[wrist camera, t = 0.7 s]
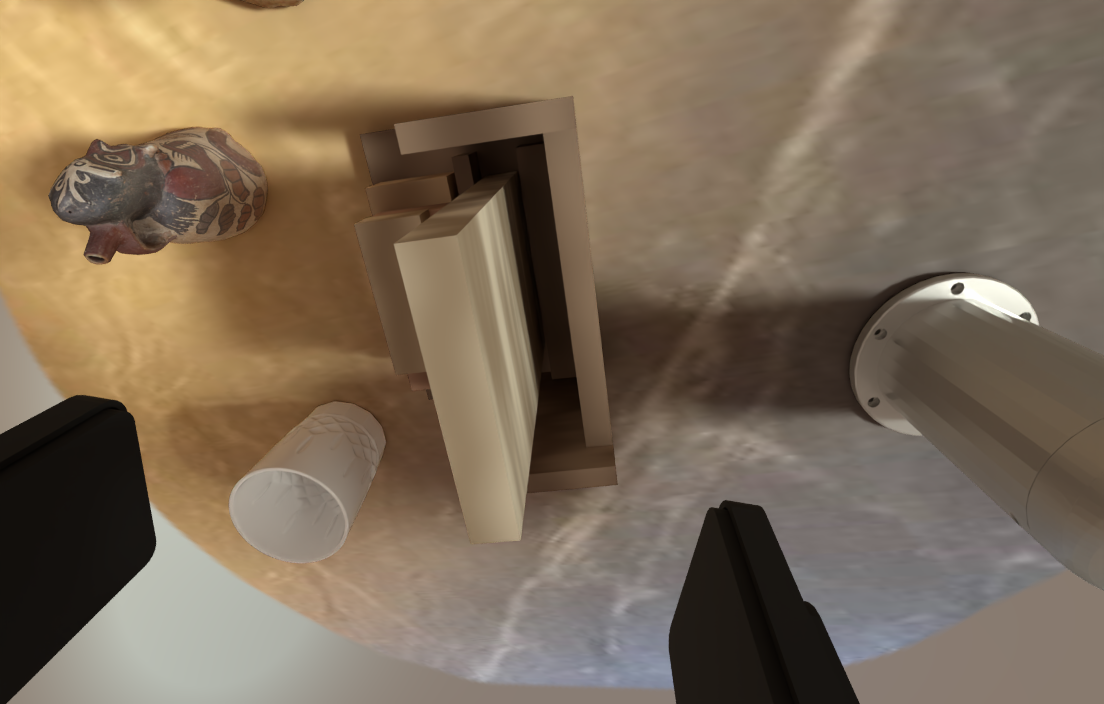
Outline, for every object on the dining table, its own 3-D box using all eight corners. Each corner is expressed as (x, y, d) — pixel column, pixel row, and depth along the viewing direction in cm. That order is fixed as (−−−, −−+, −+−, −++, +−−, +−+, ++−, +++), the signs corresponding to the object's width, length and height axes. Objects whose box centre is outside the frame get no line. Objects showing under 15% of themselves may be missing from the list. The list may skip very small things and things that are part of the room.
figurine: (258, 128, 36) (121, 135, 25) (278, 236, 39) (162, 285, 28) (152, 125, 36) (-31, 131, 25) (178, 233, 39) (25, 281, 28)
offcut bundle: (456, 171, 35) (427, 185, 28) (493, 355, 40) (476, 405, 34) (381, 182, 36) (335, 199, 29) (426, 363, 41) (397, 414, 34)
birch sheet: (517, 170, 35) (456, 235, 17) (545, 343, 40) (520, 540, 22) (487, 175, 35) (393, 243, 17) (518, 346, 40) (470, 544, 22)
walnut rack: (573, 101, 35) (572, 95, 22) (604, 371, 42) (617, 484, 29) (367, 133, 36) (254, 146, 23) (433, 390, 44) (374, 507, 31)
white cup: (283, 447, 46) (212, 530, 37) (320, 376, 43) (252, 447, 34) (369, 490, 48) (320, 580, 39) (409, 424, 45) (367, 505, 36)
